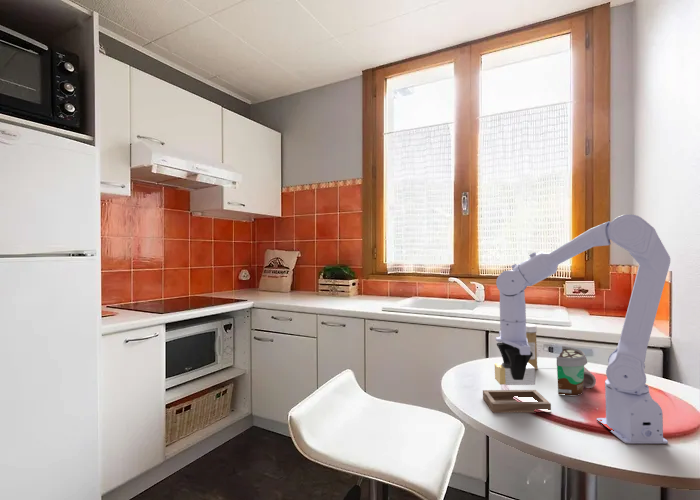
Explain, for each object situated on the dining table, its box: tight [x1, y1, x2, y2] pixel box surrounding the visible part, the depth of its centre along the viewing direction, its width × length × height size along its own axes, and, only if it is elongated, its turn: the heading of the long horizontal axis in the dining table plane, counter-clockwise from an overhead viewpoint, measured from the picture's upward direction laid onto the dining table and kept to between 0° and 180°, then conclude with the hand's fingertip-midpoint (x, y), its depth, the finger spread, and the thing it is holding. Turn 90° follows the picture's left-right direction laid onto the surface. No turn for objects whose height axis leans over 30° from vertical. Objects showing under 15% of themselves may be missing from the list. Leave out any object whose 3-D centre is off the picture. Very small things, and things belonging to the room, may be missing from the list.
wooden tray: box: [482, 389, 552, 414], centre depth 88 cm, size 8×13×2 cm, turn 86°
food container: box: [556, 345, 588, 396], centre depth 95 cm, size 12×6×10 cm, turn 144°
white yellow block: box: [494, 362, 536, 386], centre depth 88 cm, size 4×8×4 cm, turn 86°
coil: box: [557, 354, 597, 389], centre depth 105 cm, size 5×5×18 cm
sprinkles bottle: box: [526, 323, 538, 370], centre depth 113 cm, size 5×5×13 cm
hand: (514, 375), depth 88 cm, fingers closed on white yellow block, 4 cm apart
